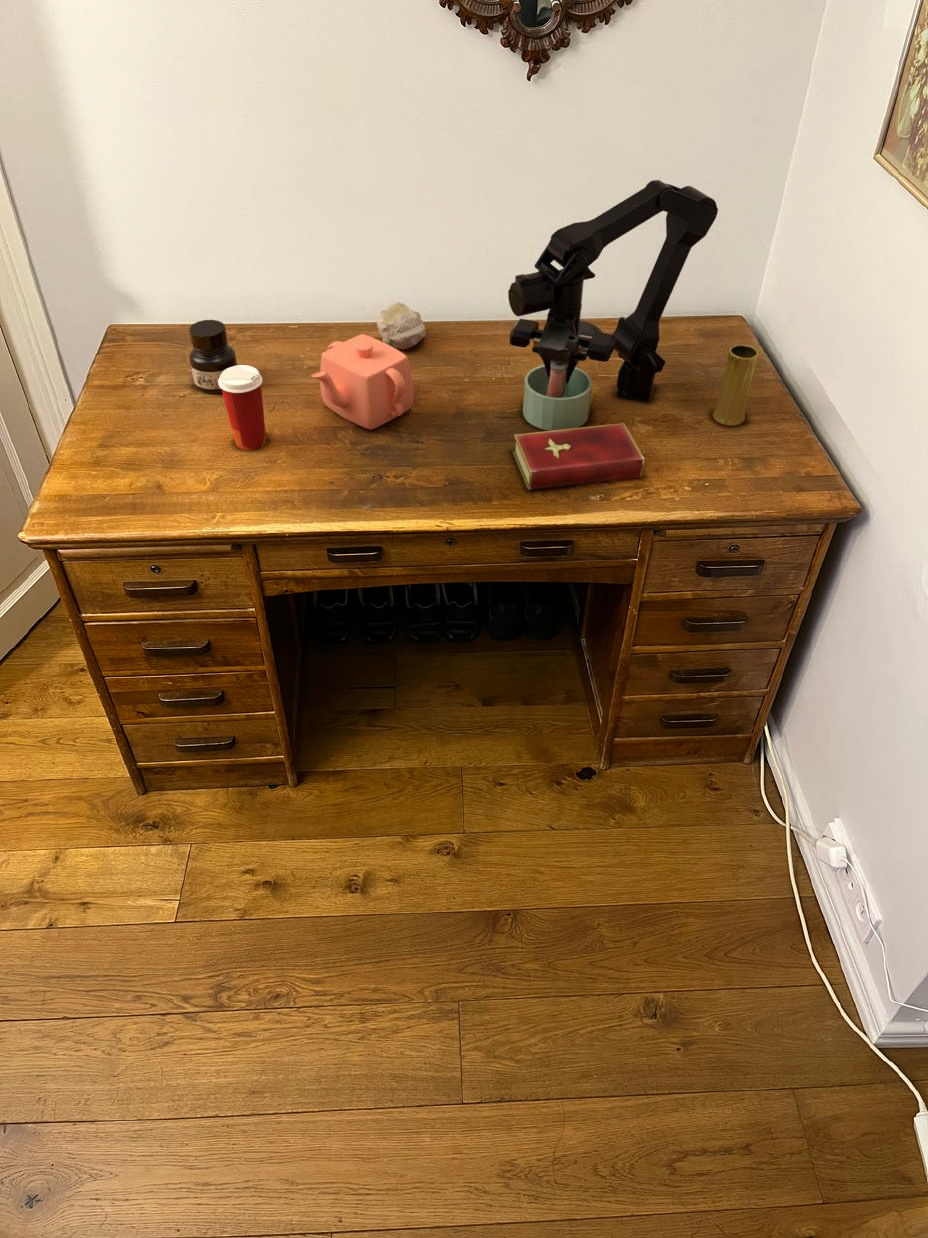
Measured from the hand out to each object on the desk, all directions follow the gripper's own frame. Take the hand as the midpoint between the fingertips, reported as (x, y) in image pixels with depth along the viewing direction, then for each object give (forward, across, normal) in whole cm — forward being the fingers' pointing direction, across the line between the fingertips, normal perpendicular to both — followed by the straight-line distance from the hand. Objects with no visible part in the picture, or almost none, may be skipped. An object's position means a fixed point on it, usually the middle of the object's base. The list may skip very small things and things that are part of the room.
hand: (559, 380), depth 186 cm
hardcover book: (+7, +8, -16) cm, 19 cm away
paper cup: (+7, -51, -29) cm, 59 cm away
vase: (+7, +32, +10) cm, 34 cm away
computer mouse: (+7, -3, +28) cm, 29 cm away
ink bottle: (+7, -67, -13) cm, 69 cm away
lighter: (+3, 0, 0) cm, 3 cm away
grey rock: (+7, -38, +15) cm, 42 cm away
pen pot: (+7, 0, 0) cm, 7 cm away
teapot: (+7, -36, -14) cm, 39 cm away
